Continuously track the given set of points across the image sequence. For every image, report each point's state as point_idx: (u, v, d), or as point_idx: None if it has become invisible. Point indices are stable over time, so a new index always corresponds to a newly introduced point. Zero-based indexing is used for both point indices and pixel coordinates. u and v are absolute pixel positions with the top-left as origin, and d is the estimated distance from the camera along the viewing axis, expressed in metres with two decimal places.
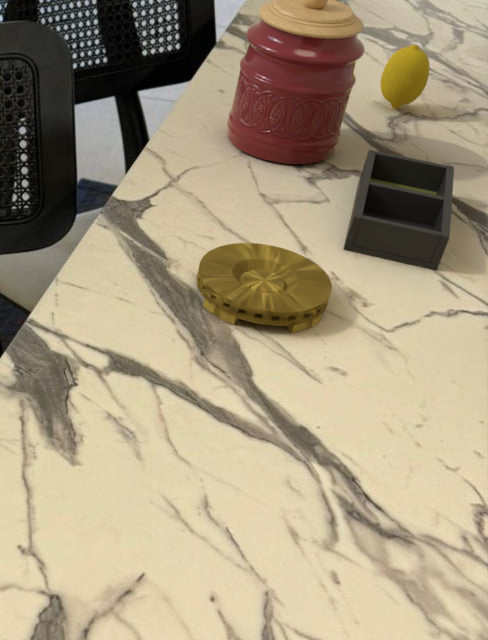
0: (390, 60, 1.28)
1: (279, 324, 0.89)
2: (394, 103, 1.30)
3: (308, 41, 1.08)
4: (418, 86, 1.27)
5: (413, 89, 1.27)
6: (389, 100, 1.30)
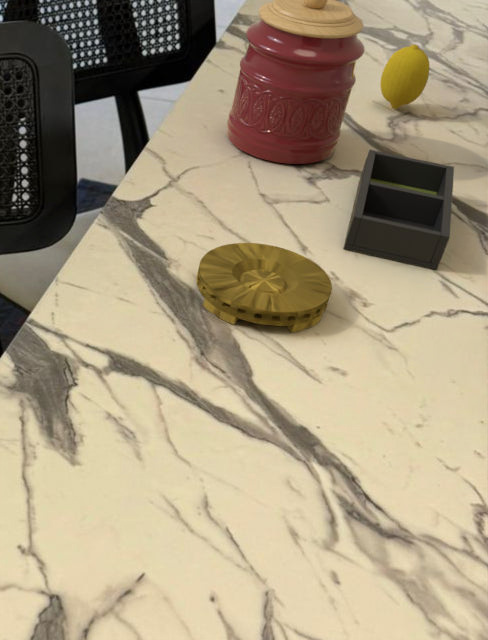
0: (390, 60, 1.28)
1: (279, 324, 0.89)
2: (394, 103, 1.30)
3: (308, 41, 1.08)
4: (418, 86, 1.27)
5: (413, 89, 1.27)
6: (389, 100, 1.30)
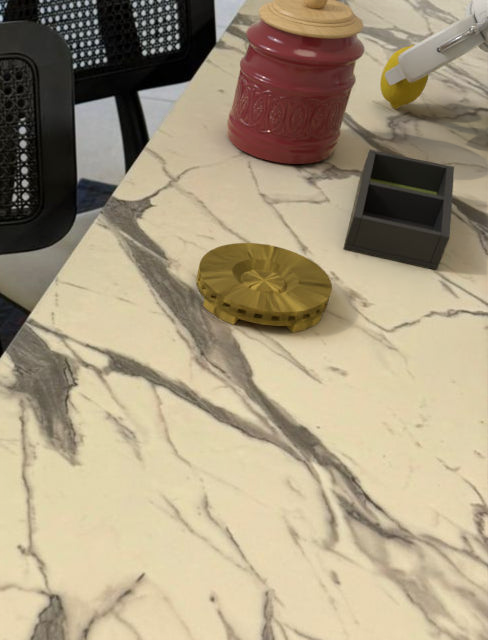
0: (390, 60, 1.28)
1: (279, 324, 0.89)
2: (394, 103, 1.30)
3: (308, 41, 1.08)
4: (418, 86, 1.27)
5: (412, 89, 1.27)
6: (389, 100, 1.30)
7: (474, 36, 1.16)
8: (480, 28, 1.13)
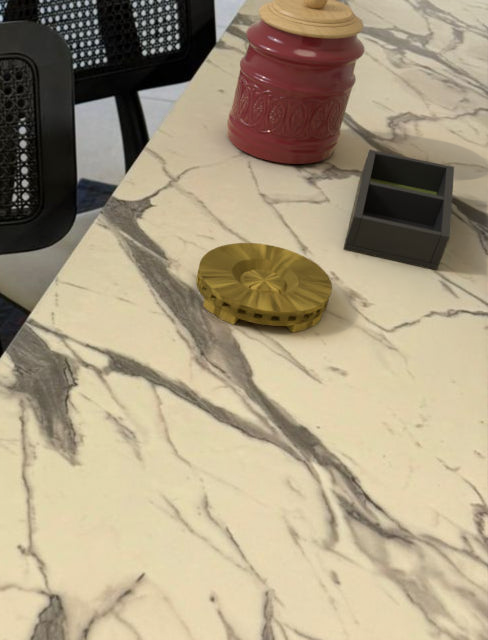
0: None
1: (279, 324, 0.89)
2: None
3: (308, 41, 1.08)
4: None
5: None
6: None
7: None
8: None
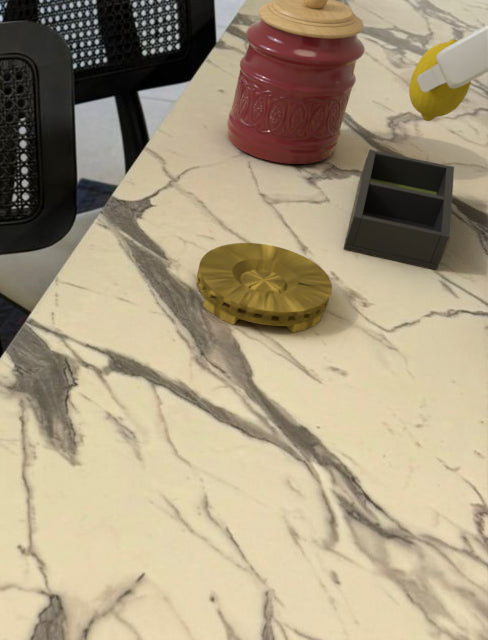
0: (422, 60, 1.00)
1: (279, 324, 0.89)
2: (427, 114, 1.02)
3: (308, 41, 1.08)
4: (458, 92, 1.00)
5: (451, 96, 1.00)
6: (420, 110, 1.02)
7: None
8: None
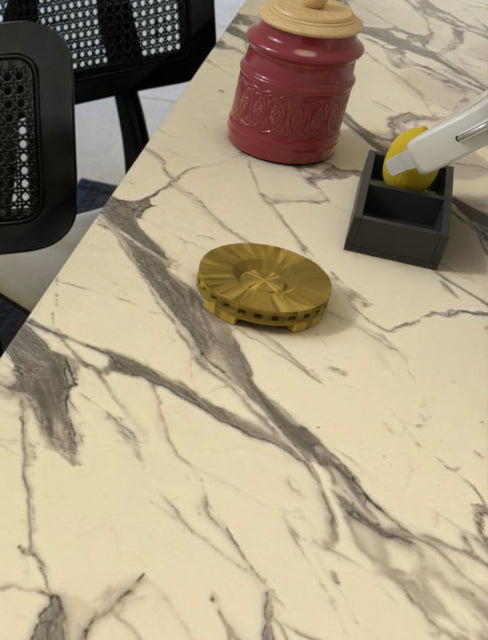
0: (394, 144, 1.06)
1: (279, 324, 0.89)
2: None
3: (308, 41, 1.08)
4: (428, 175, 1.05)
5: (422, 179, 1.05)
6: None
7: None
8: None
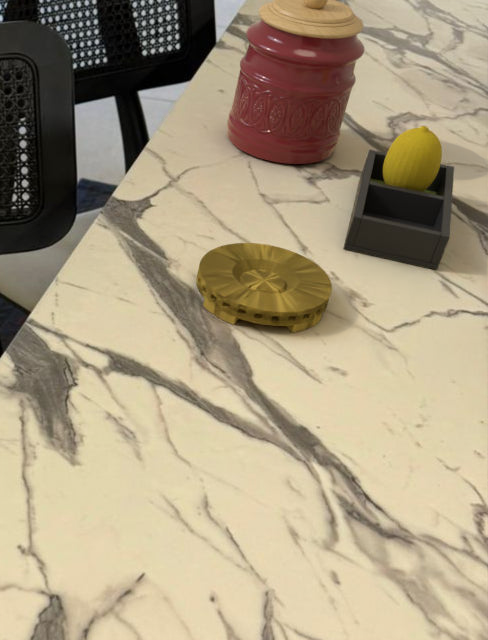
0: (394, 144, 1.06)
1: (279, 324, 0.89)
2: None
3: (308, 41, 1.08)
4: (428, 176, 1.05)
5: (422, 179, 1.05)
6: None
7: None
8: None
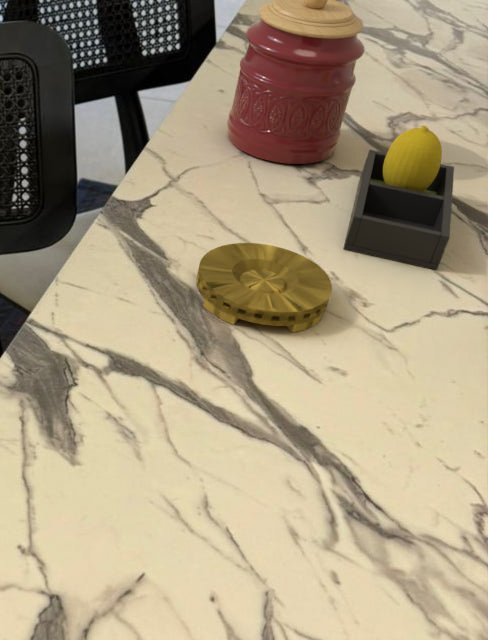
0: (394, 144, 1.06)
1: (279, 324, 0.89)
2: None
3: (308, 41, 1.08)
4: (428, 176, 1.05)
5: (422, 179, 1.05)
6: None
7: None
8: None
